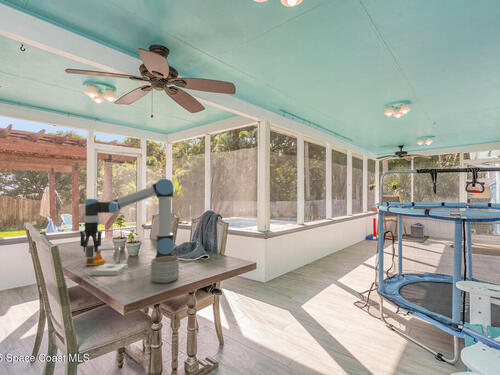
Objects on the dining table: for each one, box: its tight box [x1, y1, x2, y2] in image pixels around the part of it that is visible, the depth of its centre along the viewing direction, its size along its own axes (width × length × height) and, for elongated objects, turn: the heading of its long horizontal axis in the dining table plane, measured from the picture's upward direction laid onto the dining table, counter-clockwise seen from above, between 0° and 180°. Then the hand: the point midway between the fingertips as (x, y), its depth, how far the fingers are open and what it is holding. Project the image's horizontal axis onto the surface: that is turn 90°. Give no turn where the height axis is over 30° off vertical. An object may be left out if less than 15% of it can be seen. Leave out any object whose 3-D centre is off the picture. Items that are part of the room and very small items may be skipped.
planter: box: [150, 255, 180, 284], centre depth 165 cm, size 16×16×13 cm
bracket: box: [85, 251, 106, 267], centre depth 198 cm, size 11×7×12 cm, turn 145°
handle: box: [98, 246, 121, 264], centre depth 188 cm, size 2×16×14 cm, turn 115°
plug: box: [85, 244, 95, 265], centre depth 176 cm, size 5×5×12 cm
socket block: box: [91, 263, 129, 276], centre depth 181 cm, size 16×16×3 cm
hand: (90, 256), depth 176 cm, fingers closed on plug, 5 cm apart
